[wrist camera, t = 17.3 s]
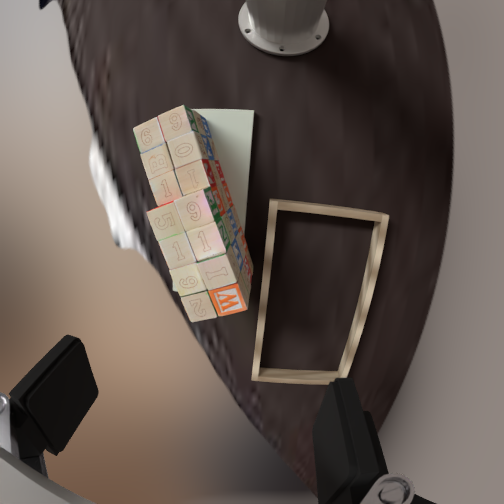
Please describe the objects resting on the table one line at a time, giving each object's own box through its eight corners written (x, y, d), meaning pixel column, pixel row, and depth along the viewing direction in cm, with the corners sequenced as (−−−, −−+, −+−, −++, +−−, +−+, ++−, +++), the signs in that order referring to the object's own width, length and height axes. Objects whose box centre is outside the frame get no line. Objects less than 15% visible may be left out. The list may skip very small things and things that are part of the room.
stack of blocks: (163, 134, 34) (117, 124, 22) (206, 117, 33) (175, 96, 21) (213, 279, 40) (190, 324, 28) (255, 267, 39) (247, 312, 27)
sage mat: (181, 110, 34) (178, 109, 33) (254, 111, 33) (253, 110, 32) (175, 287, 42) (173, 290, 41) (240, 295, 41) (239, 298, 40)
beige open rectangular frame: (269, 198, 37) (269, 200, 34) (382, 212, 36) (389, 215, 34) (252, 370, 45) (251, 380, 43) (341, 375, 45) (343, 384, 42)
